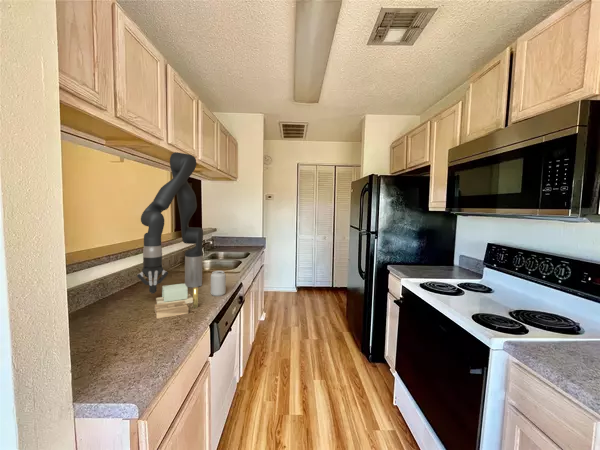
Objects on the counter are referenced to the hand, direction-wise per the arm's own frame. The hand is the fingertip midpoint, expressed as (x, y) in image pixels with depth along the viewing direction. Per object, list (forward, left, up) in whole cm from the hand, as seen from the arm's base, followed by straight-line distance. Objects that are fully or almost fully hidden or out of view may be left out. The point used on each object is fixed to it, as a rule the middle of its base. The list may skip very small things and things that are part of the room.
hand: (152, 292), depth 127 cm
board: (0, +9, -5) cm, 11 cm away
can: (-2, +30, -6) cm, 31 cm away
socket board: (+13, +6, -5) cm, 16 cm away
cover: (0, +9, -3) cm, 10 cm away
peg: (+12, +16, -5) cm, 21 cm away
